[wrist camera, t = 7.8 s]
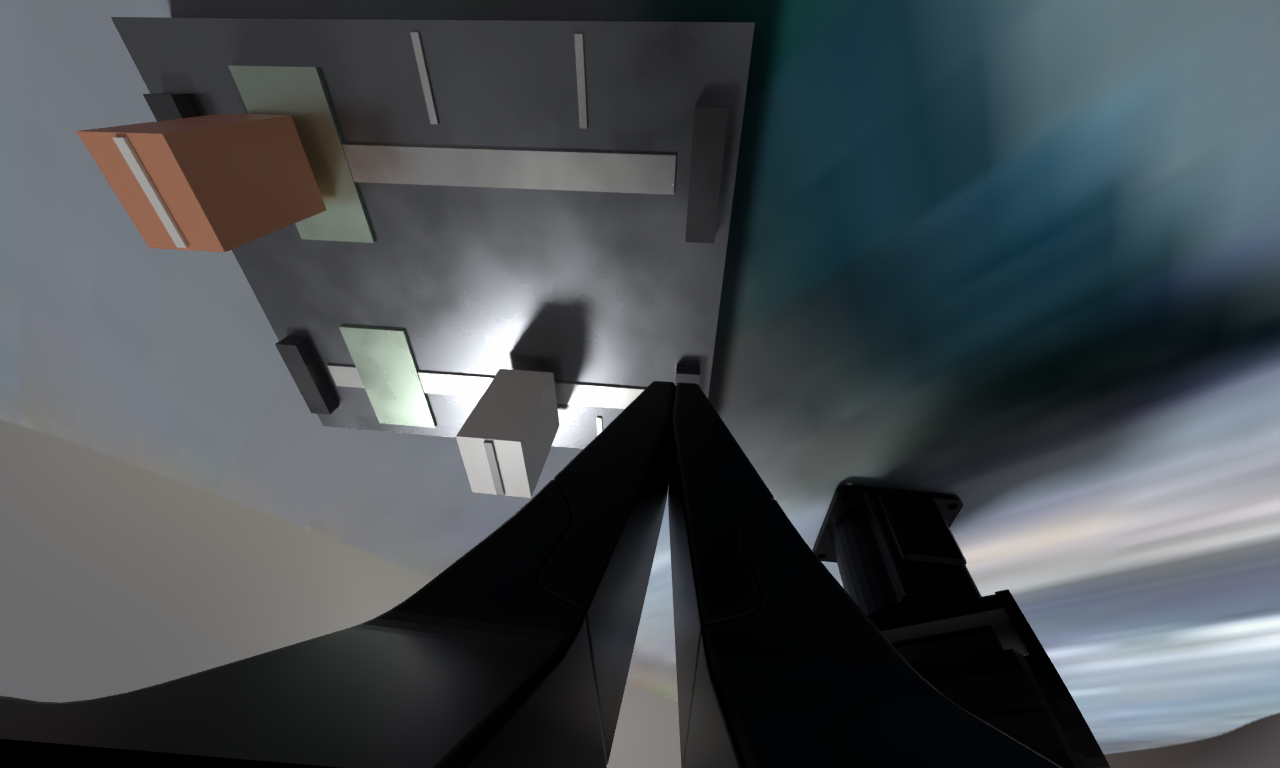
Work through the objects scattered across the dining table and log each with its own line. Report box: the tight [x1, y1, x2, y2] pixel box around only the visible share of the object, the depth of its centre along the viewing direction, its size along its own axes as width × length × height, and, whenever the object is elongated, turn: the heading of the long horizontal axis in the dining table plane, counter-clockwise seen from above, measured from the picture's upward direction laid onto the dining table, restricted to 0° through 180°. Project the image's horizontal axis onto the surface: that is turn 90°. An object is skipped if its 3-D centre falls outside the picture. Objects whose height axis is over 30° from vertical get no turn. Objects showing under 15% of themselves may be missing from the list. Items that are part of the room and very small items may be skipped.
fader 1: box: [77, 113, 327, 252], centre depth 14 cm, size 3×2×4 cm
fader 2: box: [456, 369, 559, 498], centre depth 19 cm, size 3×2×4 cm
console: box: [111, 17, 755, 449], centre depth 19 cm, size 17×20×3 cm
